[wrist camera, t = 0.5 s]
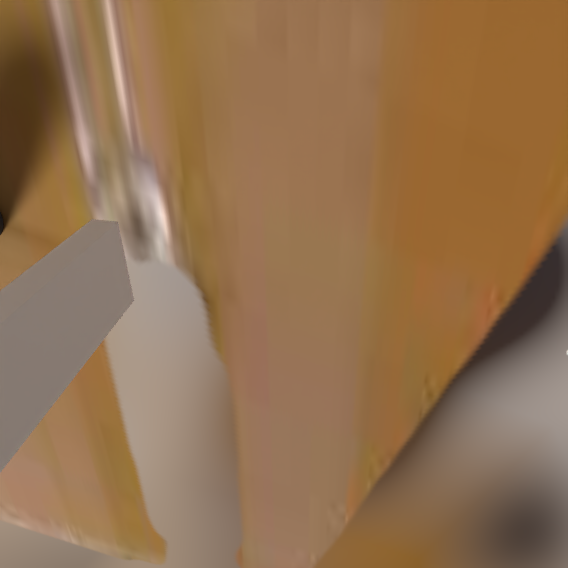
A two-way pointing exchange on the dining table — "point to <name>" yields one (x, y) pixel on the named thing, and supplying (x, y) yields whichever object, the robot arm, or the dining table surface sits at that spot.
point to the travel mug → (1, 223)
